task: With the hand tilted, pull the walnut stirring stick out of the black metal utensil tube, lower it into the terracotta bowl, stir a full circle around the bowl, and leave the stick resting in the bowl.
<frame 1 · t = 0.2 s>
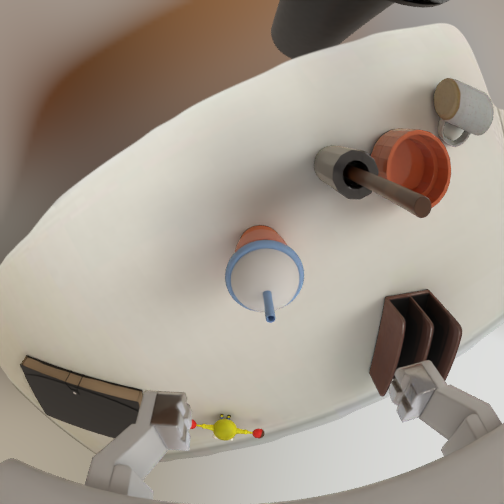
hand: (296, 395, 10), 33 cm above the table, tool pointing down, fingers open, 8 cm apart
letter holder: (397, 333, 51), on the table
ceramic mug: (449, 113, 35), on the table
utensil tube: (333, 165, 38), on the table
toy figure: (225, 415, 60), on the table
bowl: (400, 165, 38), on the table
stick: (334, 165, 38), point 1 cm above the table, touching utensil tube
cup with straw: (260, 244, 43), on the table
black book: (88, 401, 59), on the table
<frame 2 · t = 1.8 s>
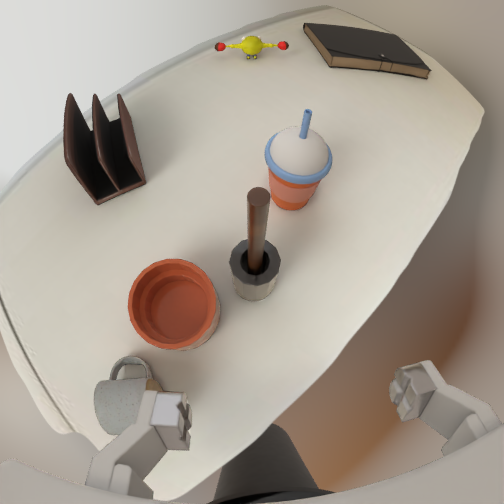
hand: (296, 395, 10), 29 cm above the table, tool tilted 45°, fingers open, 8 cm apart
letter holder: (115, 157, 50), on the table
ceramic mug: (138, 394, 35), on the table
utensil tube: (253, 282, 41), on the table
toy figure: (251, 58, 62), on the table
bowl: (180, 310, 40), on the table
stick: (253, 280, 41), point 1 cm above the table, touching utensil tube
cup with straw: (289, 194, 47), on the table
black book: (365, 51, 66), on the table
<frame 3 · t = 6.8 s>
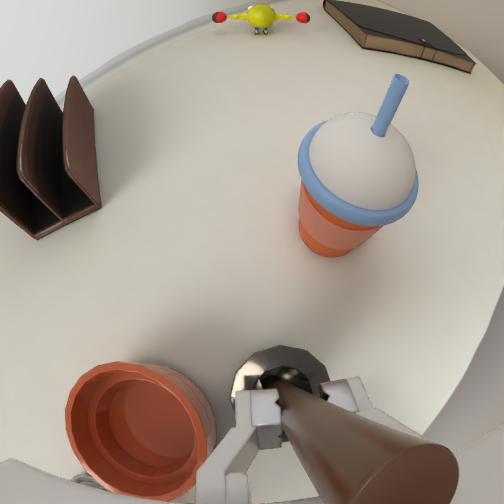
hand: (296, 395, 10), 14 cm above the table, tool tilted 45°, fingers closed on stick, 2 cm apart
letter holder: (65, 166, 32), on the table
utensil tube: (271, 383, 23), on the table
toy figure: (261, 34, 44), on the table
bowl: (154, 423, 21), on the table
stick: (271, 384, 22), point 1 cm above the table, touching gripper, utensil tube
cup with straw: (328, 229, 28), on the table
black book: (399, 36, 48), on the table
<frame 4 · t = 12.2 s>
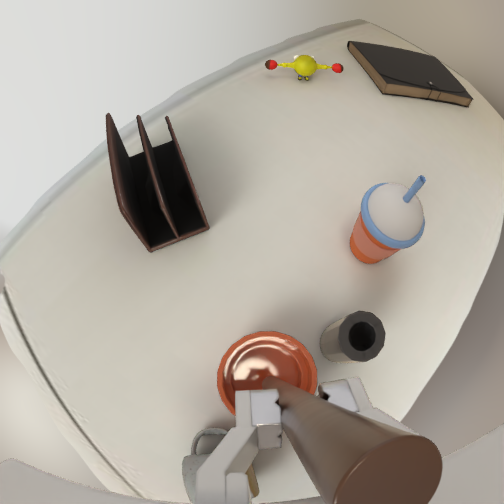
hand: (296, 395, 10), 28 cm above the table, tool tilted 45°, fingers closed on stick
letter holder: (164, 192, 47), on the table
ceramic mug: (219, 461, 31), on the table
utensil tube: (339, 343, 37), on the table
toy figure: (302, 79, 59), on the table
bowl: (265, 377, 36), on the table
stick: (271, 384, 23), point 14 cm above the table, touching gripper
cup with straw: (367, 245, 43), on the table
black book: (410, 75, 63), on the table
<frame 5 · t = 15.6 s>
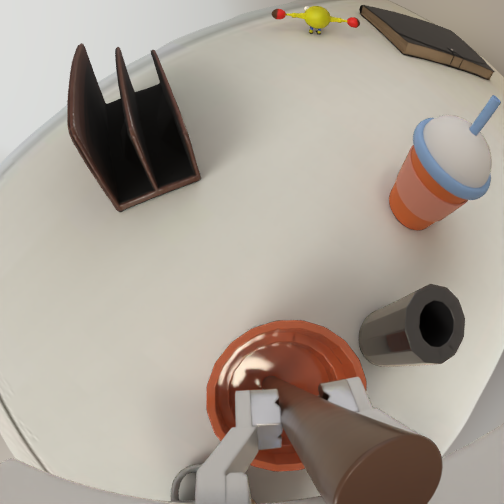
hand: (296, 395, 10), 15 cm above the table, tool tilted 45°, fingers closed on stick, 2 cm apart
letter holder: (144, 139, 34), on the table
utensil tube: (384, 337, 25), on the table
toy figure: (314, 33, 46), on the table
bowl: (280, 391, 23), on the table
stick: (271, 384, 23), point 1 cm above the table, touching gripper
cup with straw: (410, 208, 31), on the table
black book: (428, 43, 50), on the table
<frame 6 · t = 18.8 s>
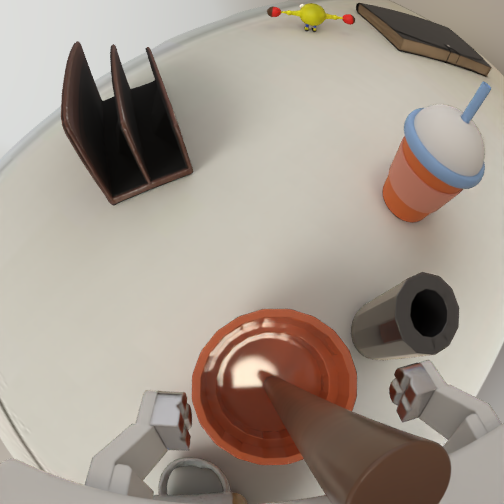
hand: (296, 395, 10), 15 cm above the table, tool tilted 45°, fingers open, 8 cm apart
letter holder: (138, 135, 34), on the table
ceramic mug: (202, 501, 19), on the table
utensil tube: (378, 330, 25), on the table
toy figure: (309, 31, 46), on the table
bowl: (270, 383, 23), on the table
stick: (272, 384, 23), point 1 cm above the table, touching bowl
cup with straw: (404, 200, 30), on the table
black book: (425, 40, 50), on the table
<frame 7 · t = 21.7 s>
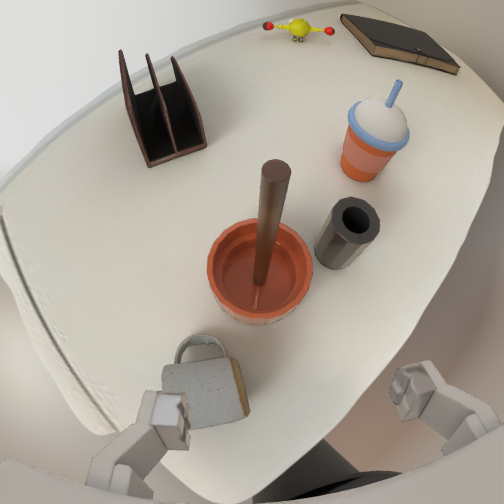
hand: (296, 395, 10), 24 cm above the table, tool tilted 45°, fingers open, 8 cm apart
letter holder: (165, 121, 47), on the table
ceramic mug: (206, 379, 32), on the table
utensil tube: (334, 250, 38), on the table
toy figure: (297, 41, 58), on the table
bowl: (258, 280, 37), on the table
stick: (259, 279, 36), point 1 cm above the table, touching bowl
cup with straw: (357, 167, 44), on the table
black book: (400, 45, 63), on the table
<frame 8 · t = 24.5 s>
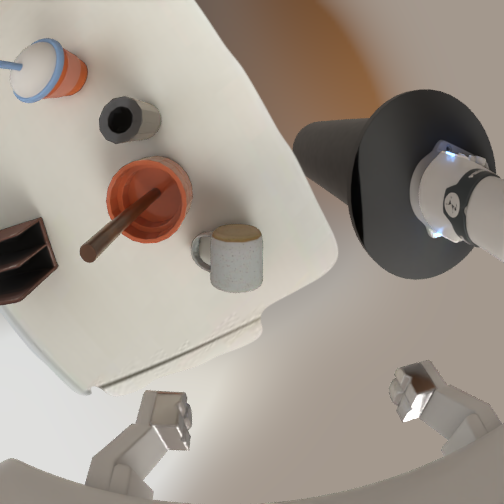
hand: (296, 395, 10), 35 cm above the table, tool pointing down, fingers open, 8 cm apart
letter holder: (18, 249, 43), on the table
ceramic mug: (227, 248, 45), on the table
utensil tube: (142, 121, 37), on the table
bowl: (156, 193, 41), on the table
stick: (155, 193, 41), point 1 cm above the table, touching bowl
cup with straw: (72, 77, 33), on the table
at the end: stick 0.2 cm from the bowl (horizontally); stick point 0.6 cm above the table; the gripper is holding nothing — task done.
